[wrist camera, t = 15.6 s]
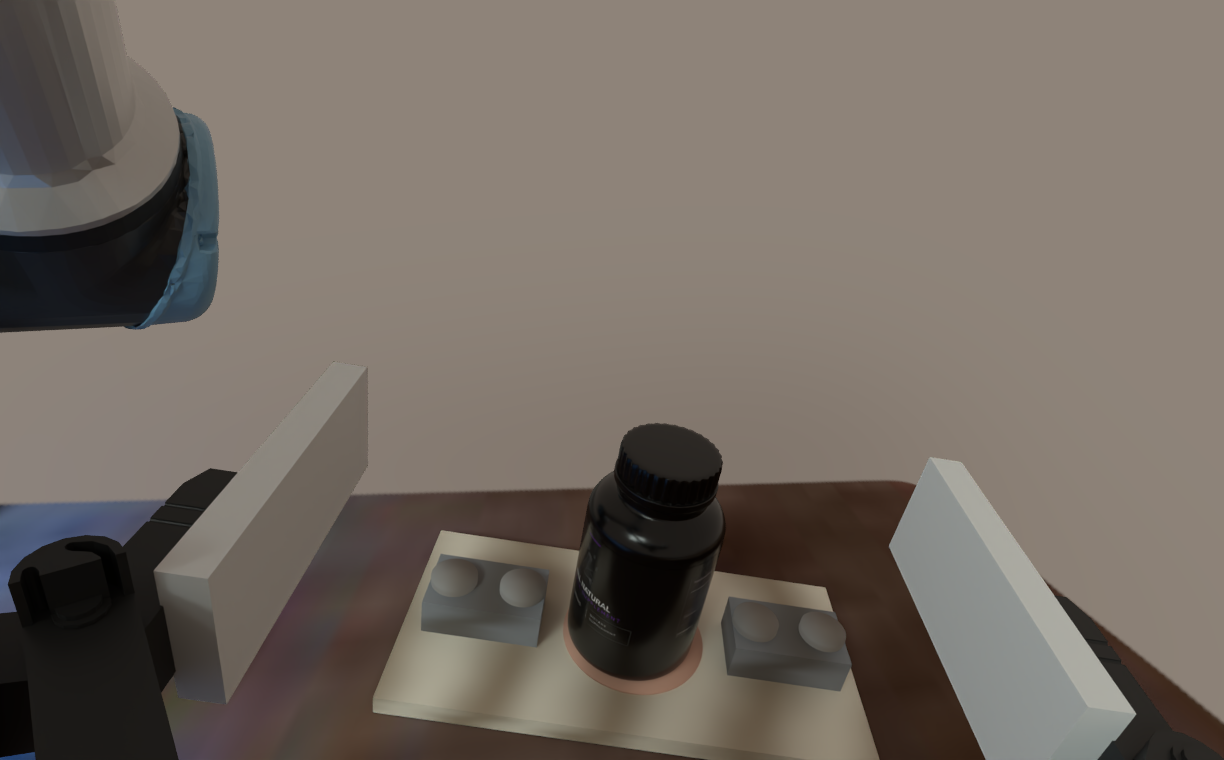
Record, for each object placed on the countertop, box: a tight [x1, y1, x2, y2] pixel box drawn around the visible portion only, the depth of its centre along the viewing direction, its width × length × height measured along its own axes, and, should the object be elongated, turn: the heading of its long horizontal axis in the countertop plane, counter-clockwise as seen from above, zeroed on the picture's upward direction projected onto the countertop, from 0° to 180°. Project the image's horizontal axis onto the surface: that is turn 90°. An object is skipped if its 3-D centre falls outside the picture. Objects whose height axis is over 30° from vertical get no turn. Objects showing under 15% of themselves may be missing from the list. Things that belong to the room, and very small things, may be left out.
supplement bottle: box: [568, 423, 726, 681], centre depth 35 cm, size 7×7×12 cm
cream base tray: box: [373, 530, 880, 760], centre depth 38 cm, size 24×12×3 cm, turn 87°
